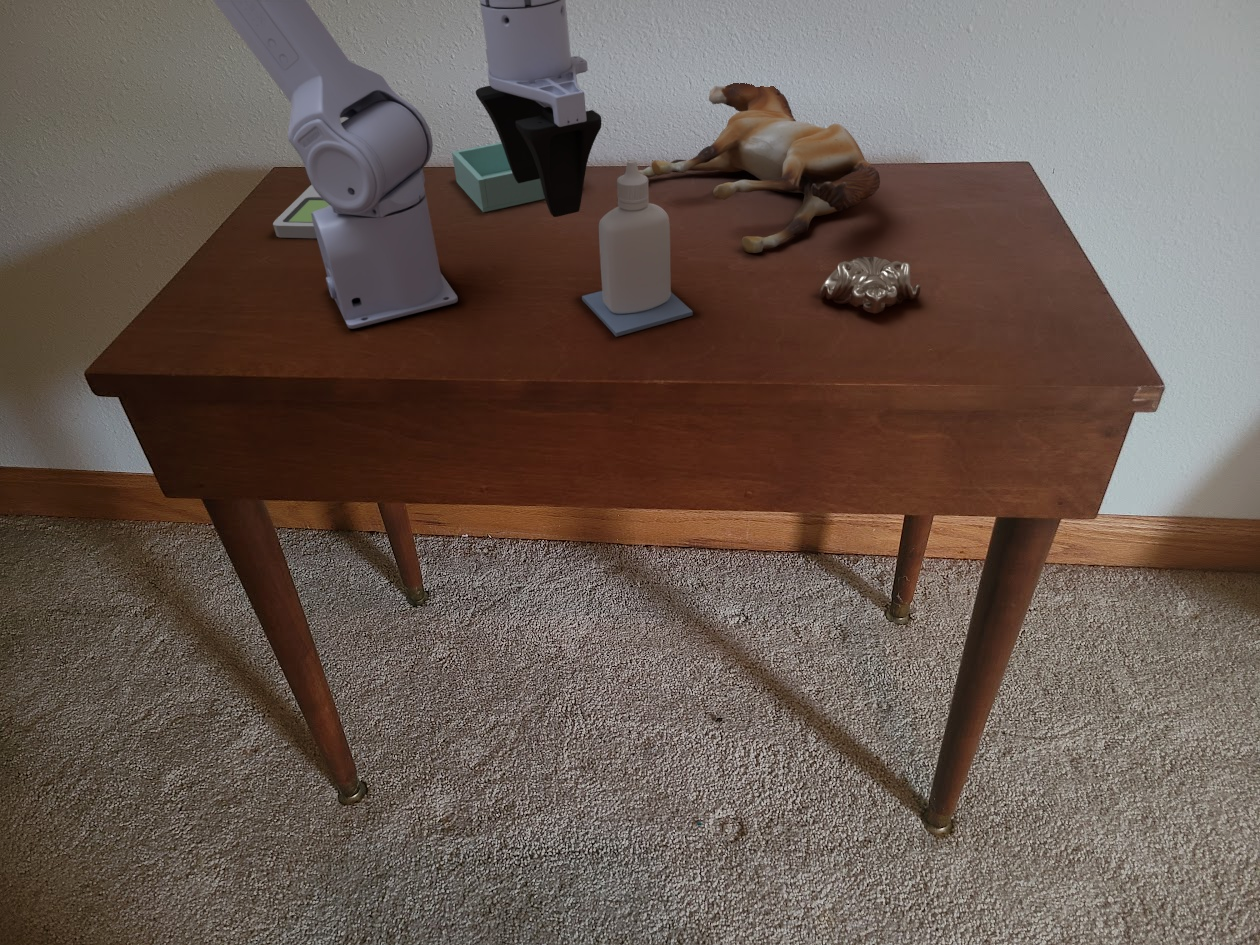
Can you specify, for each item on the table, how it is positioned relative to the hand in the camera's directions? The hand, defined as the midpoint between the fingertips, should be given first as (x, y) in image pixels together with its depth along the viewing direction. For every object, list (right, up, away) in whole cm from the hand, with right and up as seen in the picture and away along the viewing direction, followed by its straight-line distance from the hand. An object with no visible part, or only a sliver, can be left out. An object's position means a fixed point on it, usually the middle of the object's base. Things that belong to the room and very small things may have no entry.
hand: (546, 195), depth 69 cm
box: (-6, +10, +28) cm, 30 cm away
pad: (+7, -7, +7) cm, 12 cm away
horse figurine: (+12, +7, +16) cm, 21 cm away
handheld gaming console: (-23, +7, +26) cm, 35 cm away
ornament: (+26, -7, +6) cm, 28 cm away
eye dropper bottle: (+7, -7, +7) cm, 12 cm away
